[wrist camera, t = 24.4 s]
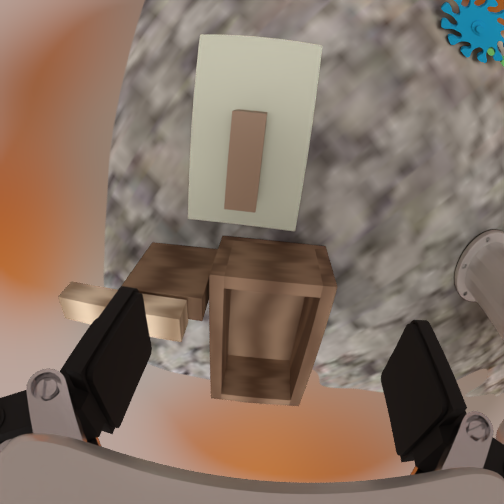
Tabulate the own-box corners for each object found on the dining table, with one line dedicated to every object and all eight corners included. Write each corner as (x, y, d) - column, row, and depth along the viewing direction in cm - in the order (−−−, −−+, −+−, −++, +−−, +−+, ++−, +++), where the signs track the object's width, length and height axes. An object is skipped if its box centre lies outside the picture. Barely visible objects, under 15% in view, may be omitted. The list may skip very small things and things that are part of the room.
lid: (320, 47, 27) (329, 38, 22) (294, 226, 38) (297, 248, 33) (203, 37, 27) (189, 26, 22) (190, 214, 38) (177, 234, 33)
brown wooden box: (325, 246, 38) (339, 295, 29) (296, 362, 49) (299, 414, 40) (151, 228, 39) (117, 271, 30) (164, 346, 49) (147, 394, 40)
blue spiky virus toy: (423, 11, 21) (486, -20, 13) (422, -1, 23) (477, -29, 14) (474, 81, 26) (534, 60, 17) (470, 61, 27) (522, 41, 19)
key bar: (186, 299, 30) (179, 319, 27) (188, 322, 31) (181, 342, 29) (71, 281, 30) (58, 296, 28) (77, 302, 32) (65, 318, 29)
